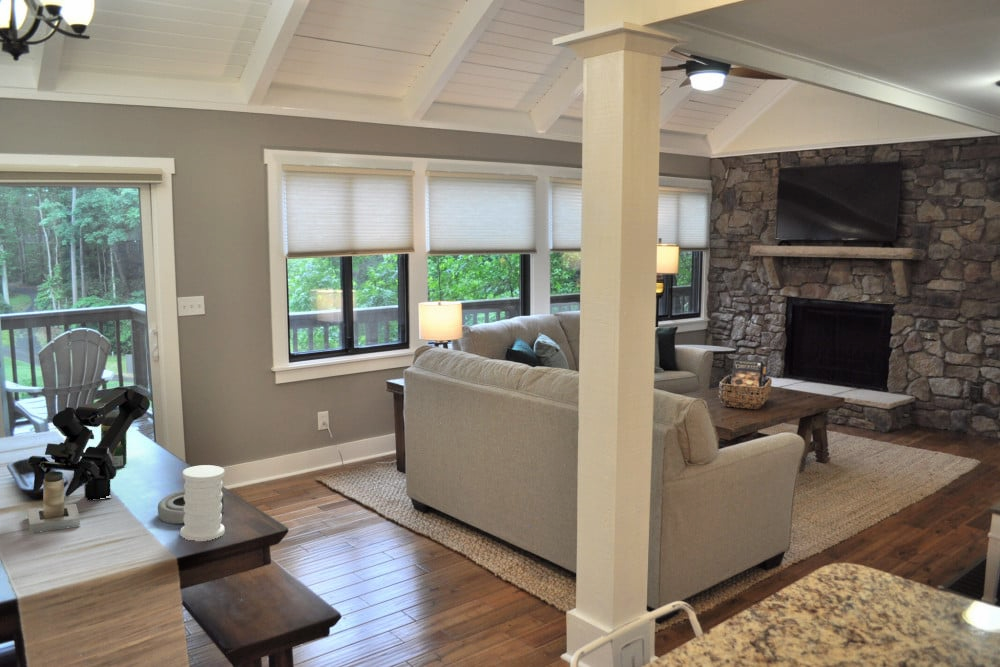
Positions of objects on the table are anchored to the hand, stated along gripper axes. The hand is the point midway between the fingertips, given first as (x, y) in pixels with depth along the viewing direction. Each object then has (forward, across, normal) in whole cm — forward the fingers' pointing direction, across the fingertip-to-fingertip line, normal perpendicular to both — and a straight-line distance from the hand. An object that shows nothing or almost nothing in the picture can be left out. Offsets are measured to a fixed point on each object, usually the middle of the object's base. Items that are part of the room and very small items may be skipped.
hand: (50, 494), depth 220 cm
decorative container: (+3, +42, +9) cm, 43 cm away
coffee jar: (-31, -12, +43) cm, 54 cm away
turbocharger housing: (-5, +32, +18) cm, 37 cm away
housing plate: (+5, 0, +7) cm, 9 cm away
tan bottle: (+5, 0, +7) cm, 9 cm away
